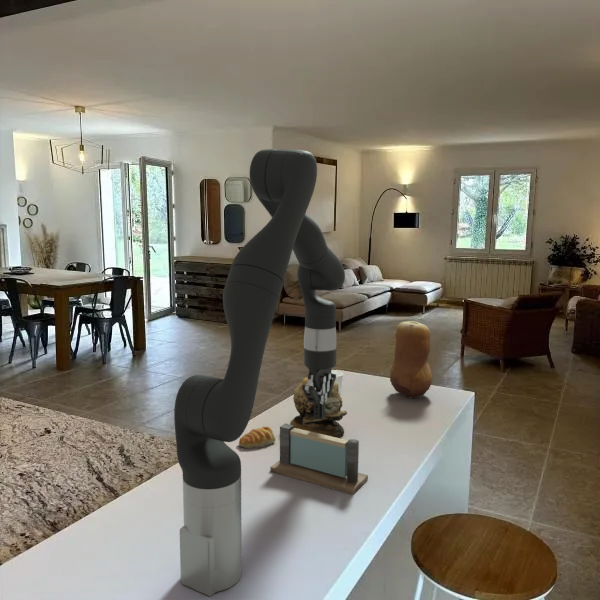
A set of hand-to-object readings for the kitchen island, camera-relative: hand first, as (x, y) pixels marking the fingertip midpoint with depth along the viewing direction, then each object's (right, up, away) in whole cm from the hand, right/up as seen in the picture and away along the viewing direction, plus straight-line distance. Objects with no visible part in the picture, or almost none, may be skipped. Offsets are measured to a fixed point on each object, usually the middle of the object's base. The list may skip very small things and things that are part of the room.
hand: (319, 417), depth 128 cm
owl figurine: (+1, -9, +24) cm, 25 cm away
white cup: (+5, -6, +45) cm, 46 cm away
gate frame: (0, -12, -3) cm, 13 cm away
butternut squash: (+32, -4, +54) cm, 62 cm away
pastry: (-15, -10, +14) cm, 23 cm away
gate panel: (0, -11, -4) cm, 11 cm away
